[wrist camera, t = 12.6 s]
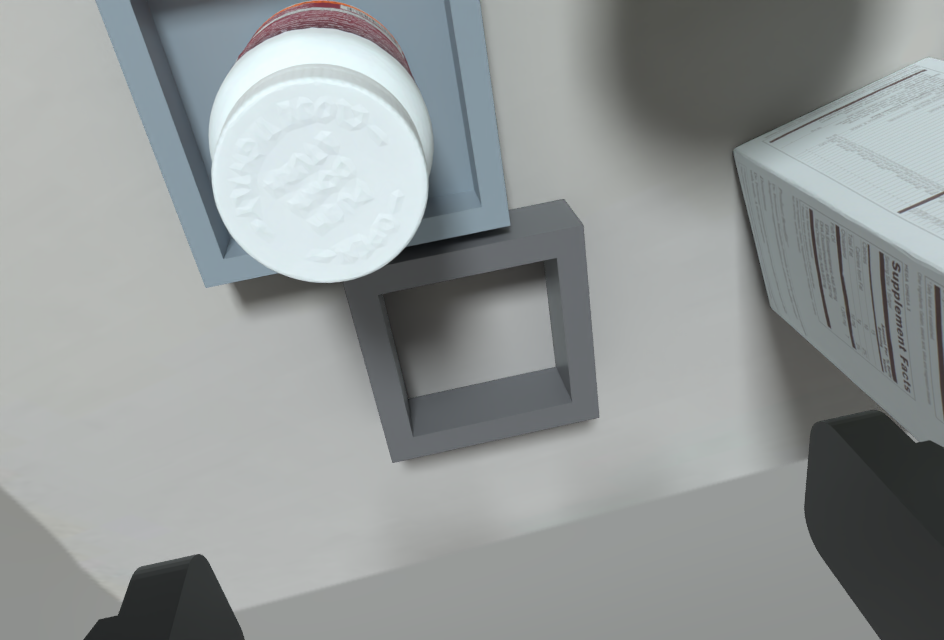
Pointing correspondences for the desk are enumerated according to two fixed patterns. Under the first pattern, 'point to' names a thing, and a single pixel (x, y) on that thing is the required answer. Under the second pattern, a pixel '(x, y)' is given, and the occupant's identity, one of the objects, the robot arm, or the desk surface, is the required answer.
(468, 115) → the parts tray
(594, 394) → the gray hollow square frame
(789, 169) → the supplement box
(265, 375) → the desk surface
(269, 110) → the pill bottle
